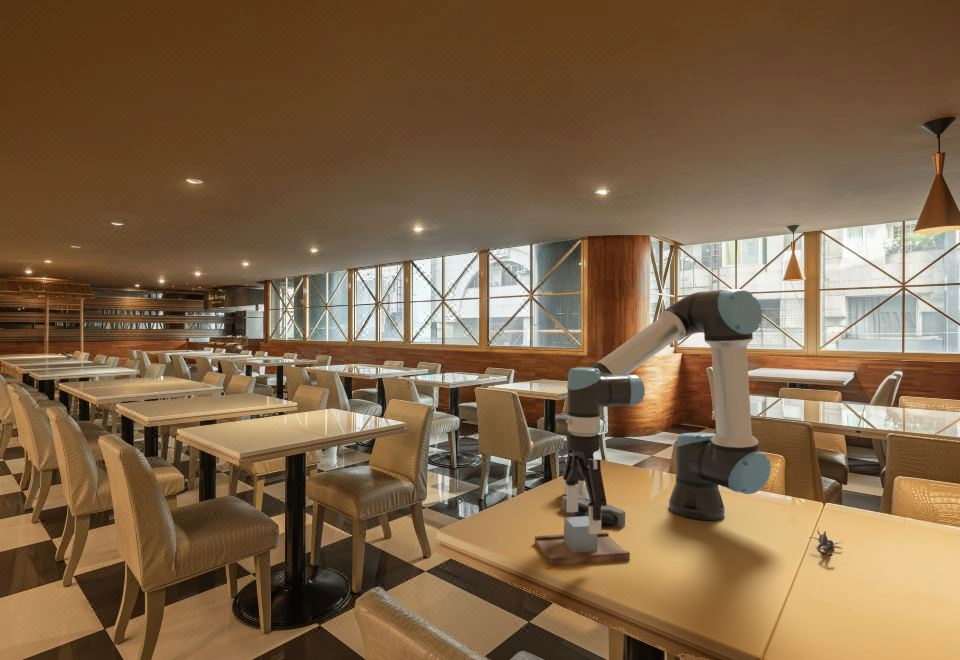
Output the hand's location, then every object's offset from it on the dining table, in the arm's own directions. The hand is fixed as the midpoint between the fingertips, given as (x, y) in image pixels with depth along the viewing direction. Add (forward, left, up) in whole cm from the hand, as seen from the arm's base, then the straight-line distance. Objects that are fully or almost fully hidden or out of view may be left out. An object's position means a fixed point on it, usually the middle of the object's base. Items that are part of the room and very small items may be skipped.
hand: (583, 521), depth 121 cm
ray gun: (-8, -19, -8) cm, 22 cm away
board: (0, 0, -7) cm, 7 cm away
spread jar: (-15, -36, -7) cm, 39 cm away
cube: (+1, 0, -6) cm, 6 cm away
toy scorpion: (-60, +8, -7) cm, 61 cm away
